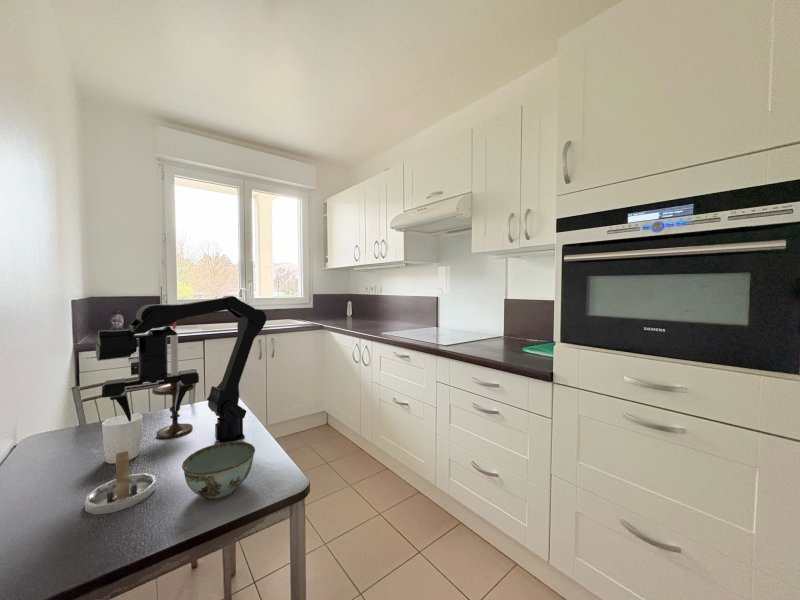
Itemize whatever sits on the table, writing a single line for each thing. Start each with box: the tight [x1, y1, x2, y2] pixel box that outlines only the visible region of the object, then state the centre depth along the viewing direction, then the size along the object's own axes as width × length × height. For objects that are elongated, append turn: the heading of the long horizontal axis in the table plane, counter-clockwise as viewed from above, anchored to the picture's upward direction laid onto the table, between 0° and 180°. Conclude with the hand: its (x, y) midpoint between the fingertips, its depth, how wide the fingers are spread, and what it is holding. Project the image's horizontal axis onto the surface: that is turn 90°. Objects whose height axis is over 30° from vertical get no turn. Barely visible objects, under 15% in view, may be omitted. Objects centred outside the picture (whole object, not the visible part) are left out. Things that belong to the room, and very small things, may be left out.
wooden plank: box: [115, 451, 130, 500], centre depth 66 cm, size 2×4×8 cm, turn 42°
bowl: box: [181, 440, 256, 502], centre depth 68 cm, size 14×13×8 cm
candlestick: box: [151, 322, 197, 440], centre depth 97 cm, size 11×11×35 cm
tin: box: [84, 472, 157, 515], centre depth 66 cm, size 11×11×2 cm
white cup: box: [101, 413, 143, 464], centre depth 82 cm, size 8×8×10 cm
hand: (153, 415), depth 79 cm, fingers open, 9 cm apart
